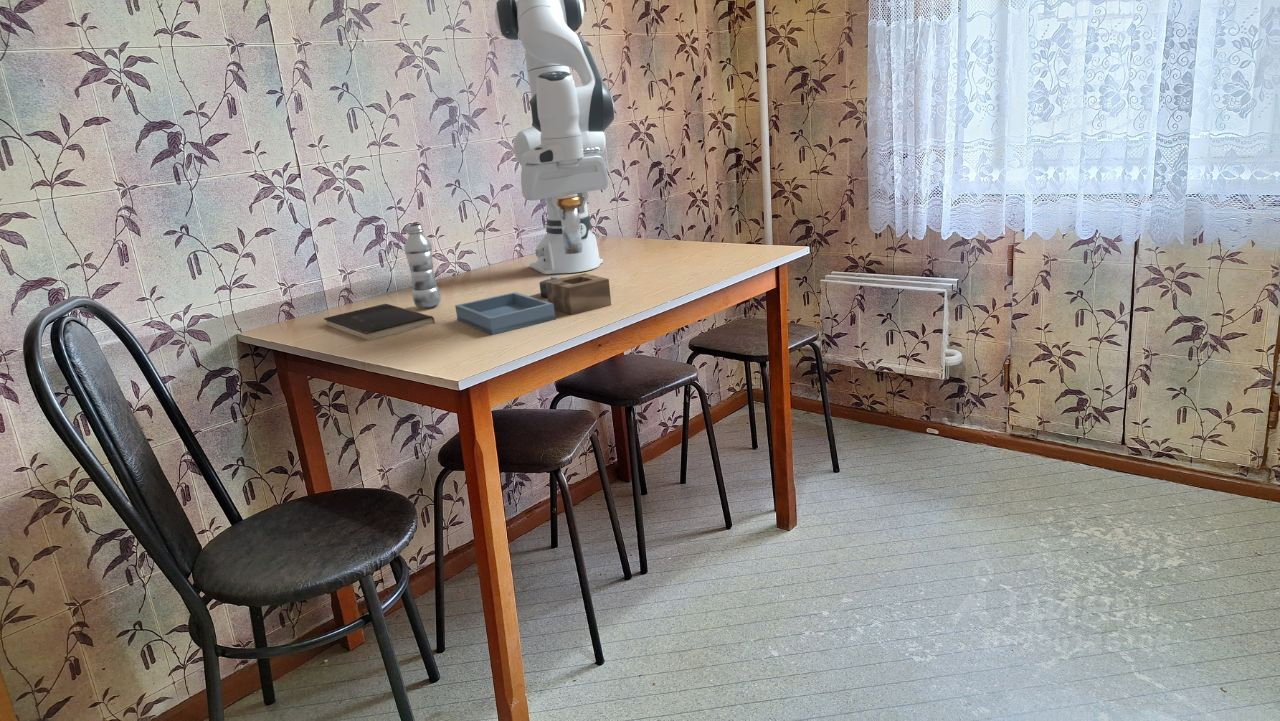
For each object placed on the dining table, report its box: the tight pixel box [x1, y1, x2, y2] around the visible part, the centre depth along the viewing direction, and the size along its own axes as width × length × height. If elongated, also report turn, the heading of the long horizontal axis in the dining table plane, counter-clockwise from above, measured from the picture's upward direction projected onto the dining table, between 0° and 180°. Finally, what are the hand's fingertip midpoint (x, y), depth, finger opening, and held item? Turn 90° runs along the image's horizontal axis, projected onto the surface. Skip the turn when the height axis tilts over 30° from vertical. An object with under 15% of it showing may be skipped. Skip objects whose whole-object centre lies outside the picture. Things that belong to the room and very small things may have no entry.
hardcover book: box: [323, 303, 435, 341], centre depth 189 cm, size 16×23×2 cm
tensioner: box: [529, 272, 612, 316], centre depth 192 cm, size 19×10×6 cm, turn 35°
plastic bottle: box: [403, 223, 441, 309], centre depth 198 cm, size 6×7×20 cm
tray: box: [454, 291, 556, 336], centre depth 182 cm, size 18×15×4 cm
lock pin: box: [556, 196, 583, 254], centre depth 183 cm, size 5×5×12 cm
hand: (569, 215), depth 183 cm, fingers closed on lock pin, 4 cm apart
